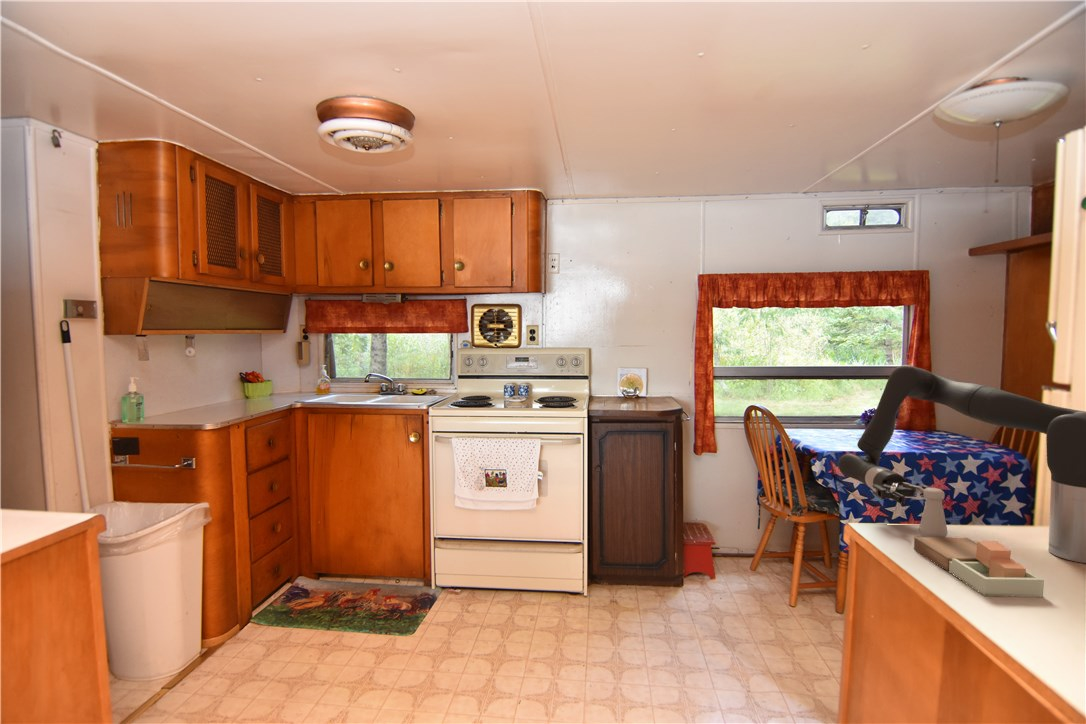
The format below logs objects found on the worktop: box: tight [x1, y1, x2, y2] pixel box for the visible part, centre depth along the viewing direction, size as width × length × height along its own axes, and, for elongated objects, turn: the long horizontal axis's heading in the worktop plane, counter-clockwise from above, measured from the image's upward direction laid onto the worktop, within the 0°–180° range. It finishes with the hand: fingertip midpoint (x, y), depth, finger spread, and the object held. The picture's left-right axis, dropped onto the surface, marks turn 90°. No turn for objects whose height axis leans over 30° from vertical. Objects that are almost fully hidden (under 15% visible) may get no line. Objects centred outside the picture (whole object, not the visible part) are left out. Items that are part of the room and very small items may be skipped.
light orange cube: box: [976, 540, 1012, 568], centre depth 116 cm, size 4×4×4 cm
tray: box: [948, 558, 1045, 598], centre depth 113 cm, size 11×10×4 cm
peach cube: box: [989, 557, 1027, 578], centre depth 112 cm, size 4×4×4 cm
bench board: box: [913, 536, 980, 572], centre depth 124 cm, size 12×12×3 cm
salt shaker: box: [918, 487, 949, 537], centre depth 136 cm, size 6×6×13 cm
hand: (920, 500), depth 141 cm, fingers open, 8 cm apart
